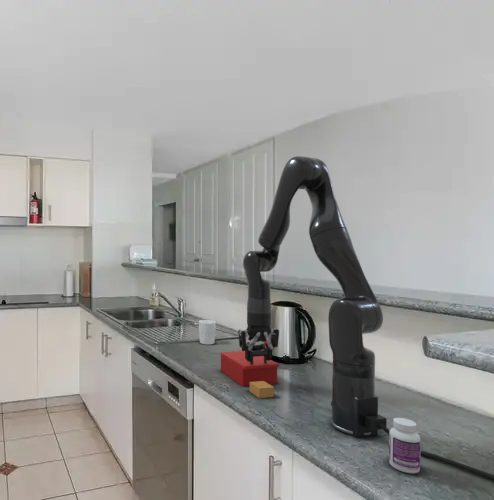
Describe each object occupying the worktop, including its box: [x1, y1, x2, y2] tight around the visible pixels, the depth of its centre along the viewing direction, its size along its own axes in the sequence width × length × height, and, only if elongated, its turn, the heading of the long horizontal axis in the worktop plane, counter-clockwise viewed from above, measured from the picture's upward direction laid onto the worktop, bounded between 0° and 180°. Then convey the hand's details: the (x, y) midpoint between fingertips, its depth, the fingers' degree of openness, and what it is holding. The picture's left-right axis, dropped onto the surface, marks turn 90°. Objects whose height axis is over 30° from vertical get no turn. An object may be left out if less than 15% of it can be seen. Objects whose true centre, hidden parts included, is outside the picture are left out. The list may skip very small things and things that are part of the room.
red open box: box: [220, 354, 278, 387], centre depth 138 cm, size 16×13×6 cm
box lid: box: [220, 350, 280, 369], centre depth 137 cm, size 17×13×5 cm
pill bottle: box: [388, 417, 422, 474], centre depth 83 cm, size 5×5×10 cm
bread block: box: [249, 381, 275, 399], centre depth 122 cm, size 6×5×3 cm
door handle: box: [241, 342, 292, 363], centre depth 161 cm, size 3×20×16 cm
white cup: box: [198, 319, 217, 345], centre depth 184 cm, size 8×8×10 cm
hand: (258, 360), depth 131 cm, fingers open, 6 cm apart
